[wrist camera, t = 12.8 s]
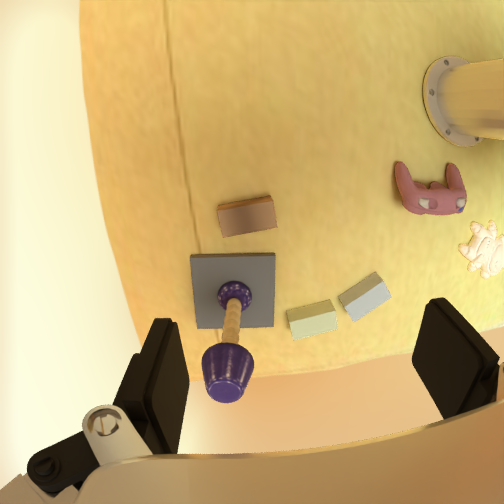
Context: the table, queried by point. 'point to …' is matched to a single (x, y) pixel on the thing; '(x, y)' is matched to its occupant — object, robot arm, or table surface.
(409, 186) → the video game controller
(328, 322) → the brick
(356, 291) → the brick
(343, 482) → the robot arm
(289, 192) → the table surface
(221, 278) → the pad
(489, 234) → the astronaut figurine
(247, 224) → the brick
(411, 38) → the table surface
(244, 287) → the toy lamp
